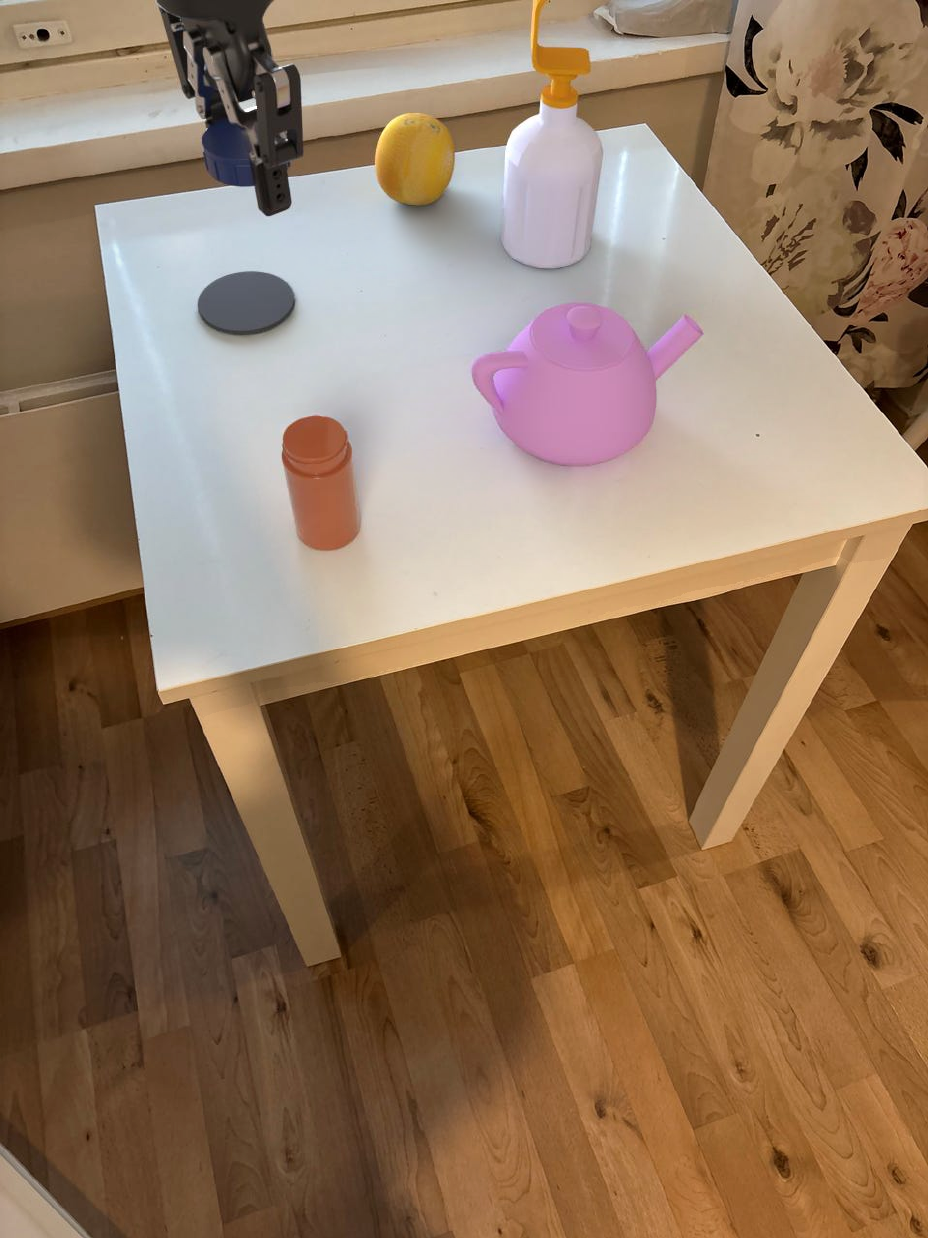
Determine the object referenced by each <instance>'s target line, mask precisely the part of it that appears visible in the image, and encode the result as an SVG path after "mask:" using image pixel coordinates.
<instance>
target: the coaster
mask: <svg viewBox="0 0 928 1238" xmlns="http://www.w3.org/2000/svg"><path fill="white" fill-rule="evenodd" d="M295 302H296V299H295V293H294V291H293V289H292V287H291V286H290V284H289V283H288V282H287V281H285V280H284V279H283V278H281V277H280V276H277V275H275V274H272V273H269V272H264V271H255V270H254V271H253V270H250V271H249V270H247V271H246V270H245V271H237V272H233V273H229V274H226V275H223V276H221V277H219V278H217V279H215V280H214V281H212V282H210V283H209V284H207V286H206V287H204V289H203V290H202V291H201V293H200V294H199V298H198V300H197V309H198V310H197V311H198V313H199V316H200V318H201V320H202V321H203V322H204V323H205V324H206V326H208V327H210V328H211V329H213V330H215V331H216V332H220V333H223V334H227V335H233V336H250V335H256V334H261V333H264V332H267V331H270V330H272V329H274V328H276V327H278V326H280V325H281V324H283V323H284V322H285V321H287V319H288V318H289V317H290V316H291V315H292V312H293V311H294V308H295V304H296V303H295Z"/></svg>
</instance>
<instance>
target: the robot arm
mask: <svg viewBox="0 0 928 1238" xmlns="http://www.w3.org/2000/svg"><path fill="white" fill-rule="evenodd" d="M154 1H155V3H156V4H157V5H158V11H159V12H160V16H161V20H162V23H163V26H164V30H165V34H166V37H167V41H168V44H169V47H170V51H171V55H172V59H173V61H174V66H175V69H176V72H177V76H178V79H179V83H180V86H181V91H182V93H183V95H184V96H185V97H186V99H188V100H191V99H194V103H195V110H196V112H197V114H198V116H199V117H200V118H201V119H202V120H204V124H205V130H206V129H207V128H209V127H210V126H211V125H213V124H214V123H216V122H218V121H221V120H223V119H227V118H229V121H230V123H231V124H232V125H233V126H234V127H237V128H239V129H240V131H241V134H242V137H243V140H244V143H245V145H246V148H247V151H248V154H249V158H250V160H251V161H250V164H251V170H252V175H253V181H254V186H253V187H254V191H255V192H254V193H255V197H256V203H257V208H258V210H259V211H260V212H261V213H262V214H263V215H265V216H266V217H272V216H275V215H278V214H280V213H282V212H285V211H287V210H289V209H290V207H291V206H292V204H293V203H292V195H291V188H290V182H289V175H288V170H287V167H286V163H287V162H289V161H291V162H292V161H294V160H297V159H300V158H303V157H304V132H303V106H302V103H303V102H302V84H301V83H302V80H301V75H300V71H299V70H298V68H297V66H296V65H295V64H294V63H290V64H287V65H284V66H280V65H279V64H278V63H277V62H276V61H275V60H274V54H273V50H272V46H271V43H270V40H269V37H268V34H267V31H266V27H265V23H264V19H263V18H264V15H265V14H266V11H267V10H268V9H269V7H270V6H271V4H272V3H274V2H275V0H154ZM253 99H254V100H255V106H253V107H250V108H247V109H243V108H242V107H241V105H240V103H244V102H247V101H249V100H253ZM256 122H258V133H259V142H258V139H257V136H256V133H255V130H254V124H255V123H256ZM285 131H286V133H287V136H286V133H285Z"/></svg>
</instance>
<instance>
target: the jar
mask: <svg viewBox="0 0 928 1238" xmlns="http://www.w3.org/2000/svg"><path fill="white" fill-rule="evenodd" d="M348 439H349V437H348V431H347V430H345V428H344V427H343V425H342V424H341V423H340V422H339V421H338V420H336V419H334V418H332V417H330V416H327V415H322V414H311V415H307V416H303V417H299V418H298V419H296V420H294V421H293V422H291V423H290V424H289V425H288V426H287V427H286V429H285V430H284V432H283V435H282V444H281V446H282V450H281V462H282V467H283V471H284V476H285V481H286V486H287V490H288V491H287V493H288V497H289V502H290V508H291V513H292V517H293V521H294V527H295V532H296V535H297V538H298V539H299V540H300V541H301V542H302V543H303V544H304V545H305V546H307V547H309V548H311V549H314V550H316V551H324V552H325V551H327V552H328V551H329V552H330V551H335V550H338V549H342V548H344V547H346V546H348V545H349V544H350V543H352V542H353V541H354V540H355V539H356V537H357V536H358V534H359V532H360V529H361V520H360V519H361V518H360V510H359V501H358V492H357V483H356V476H355V475H356V473H355V467H354V457H353V449H352V445H351V443H350V441H349V440H348Z"/></svg>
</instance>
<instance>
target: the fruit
mask: <svg viewBox="0 0 928 1238" xmlns="http://www.w3.org/2000/svg"><path fill="white" fill-rule="evenodd" d="M455 158H456V156H455V145H454V141H453V138H452V135H451V133H450V131H449V129H448V128H447V126H445V124H443V122H442V121H440V120H439V119H437V118H436V117H434V116H432V115H428V114H426V113H420V112H407V113H404V114H401V115H398V116H396V117H395V118H393V119H391V121H389V123H388V124H387V125H386V127H384V128H383V131H382V132H381V134H380V136H379V139H378V141H377V144H376V149H375V157H374V168H375V169H374V170H375V175H376V178H377V181H378V184H379V187H380V188H381V189H382V191H383V192H384V193H385V195H386V196H388V197H389V198H390V199H391V200H393V201H395V202H398V203H401V204H404V205H408V206H409V205H410V206H417V207H419V206H420V207H422V206H427V205H431V204H433V203H434V202H435V201H437V200H438V199H440V197H441V196H442V195H443V194H444V193H445V191H446V190H447V188H448V186H449V184H450V182H451V180H452V178H453V173H454V169H455V161H456V160H455Z"/></svg>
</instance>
